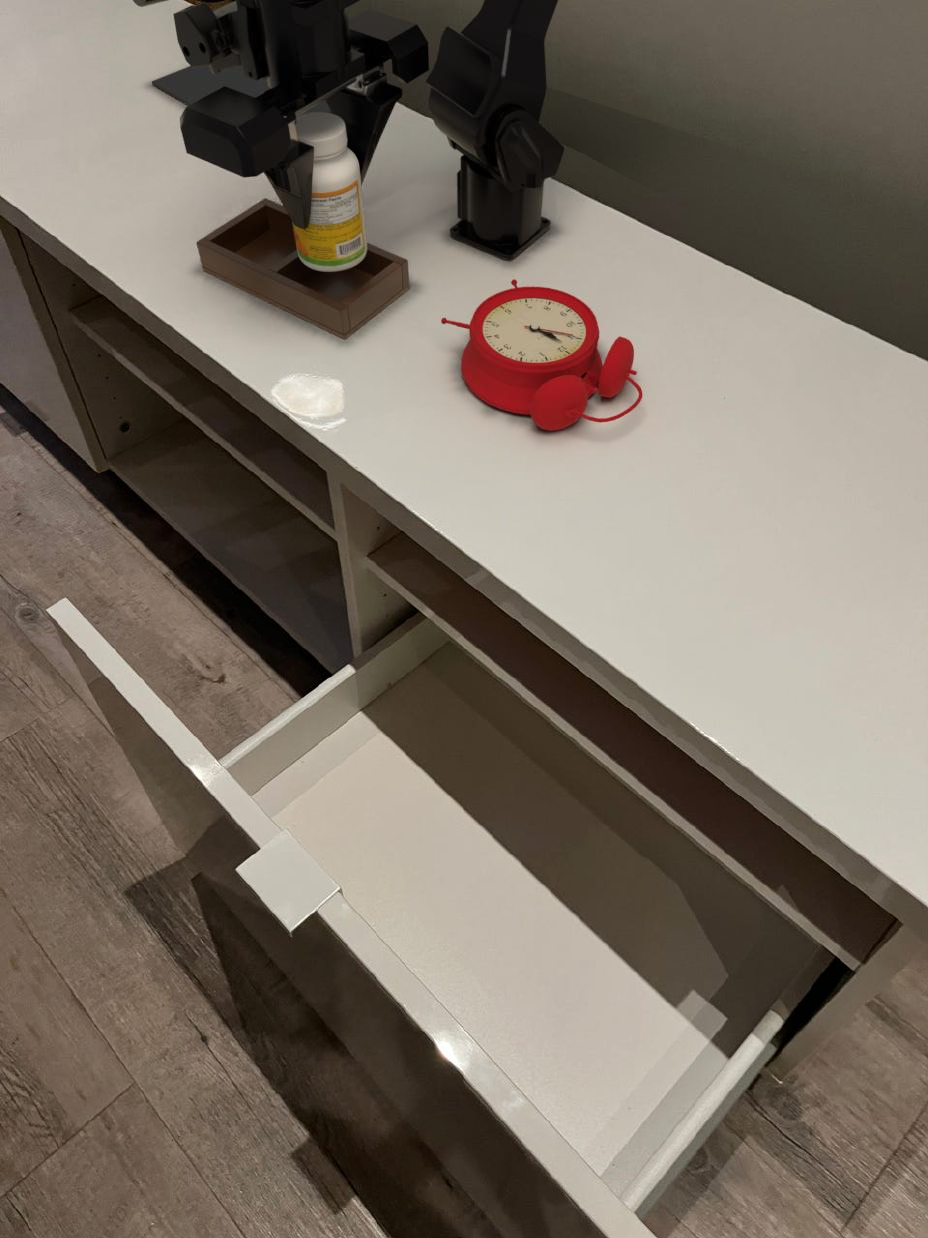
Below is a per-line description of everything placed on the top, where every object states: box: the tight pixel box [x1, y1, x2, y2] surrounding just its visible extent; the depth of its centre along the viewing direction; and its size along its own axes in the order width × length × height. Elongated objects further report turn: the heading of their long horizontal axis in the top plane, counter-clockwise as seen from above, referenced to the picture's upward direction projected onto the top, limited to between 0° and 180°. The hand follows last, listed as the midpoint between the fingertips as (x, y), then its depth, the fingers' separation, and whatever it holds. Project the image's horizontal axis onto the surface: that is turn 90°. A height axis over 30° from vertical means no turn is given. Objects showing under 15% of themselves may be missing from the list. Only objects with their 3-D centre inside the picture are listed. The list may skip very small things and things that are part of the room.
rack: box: [195, 197, 410, 340], centre depth 74 cm, size 8×15×3 cm, turn 54°
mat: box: [151, 65, 332, 118], centre depth 94 cm, size 18×10×1 cm, turn 45°
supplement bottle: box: [292, 112, 368, 272], centre depth 67 cm, size 5×5×10 cm
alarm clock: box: [440, 278, 643, 432], centre depth 66 cm, size 10×6×15 cm
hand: (327, 209), depth 68 cm, fingers closed on supplement bottle, 5 cm apart
